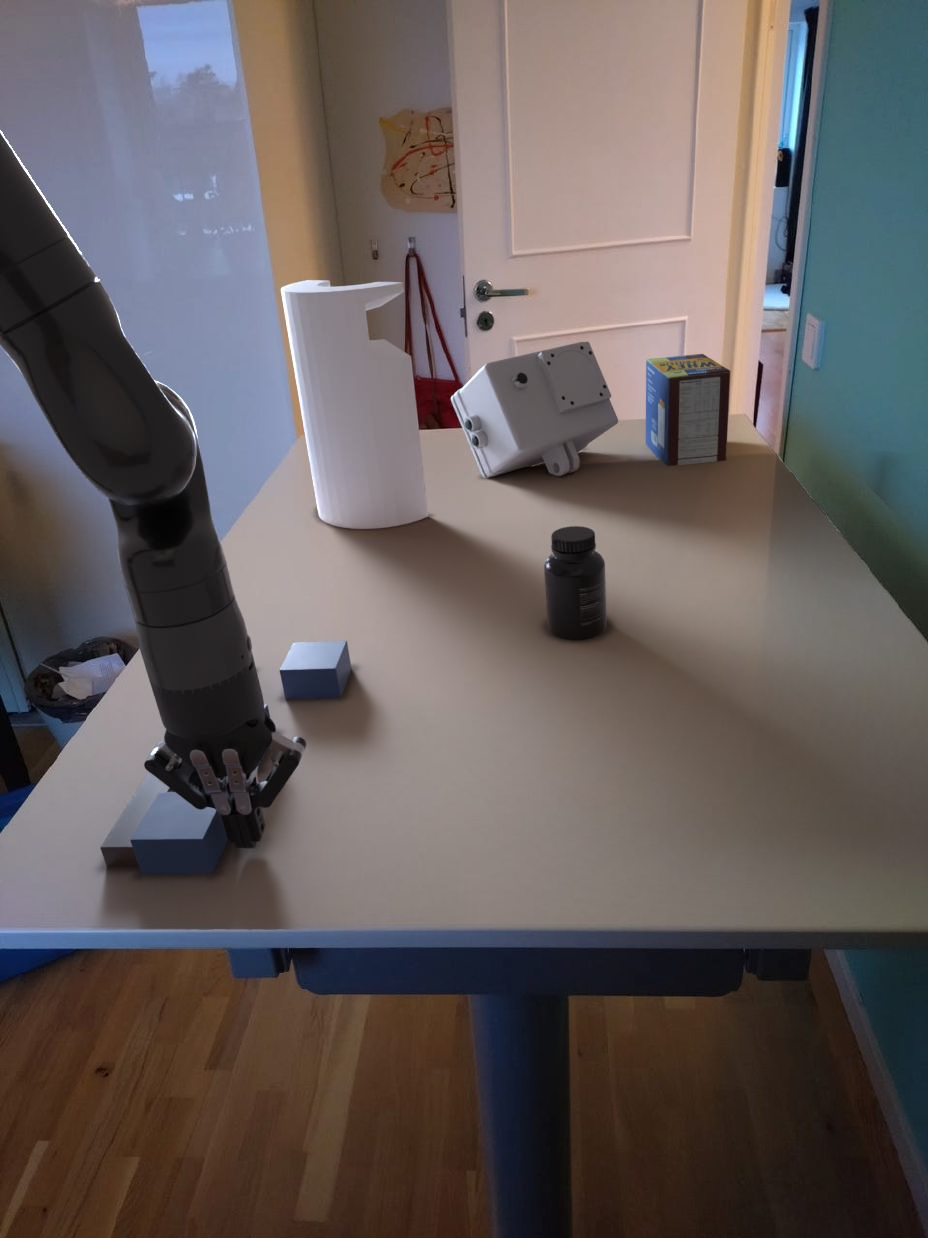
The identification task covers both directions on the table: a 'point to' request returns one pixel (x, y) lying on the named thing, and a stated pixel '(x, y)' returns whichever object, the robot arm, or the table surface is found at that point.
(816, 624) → the table surface
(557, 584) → the supplement bottle
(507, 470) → the junction box
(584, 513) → the table surface
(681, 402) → the protein box
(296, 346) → the white tall curved block
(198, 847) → the near block
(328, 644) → the far block
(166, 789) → the straightedge
